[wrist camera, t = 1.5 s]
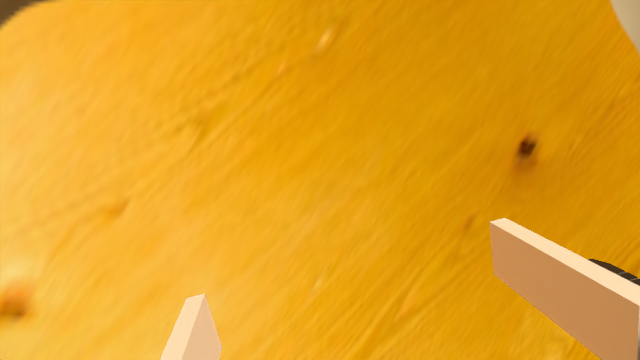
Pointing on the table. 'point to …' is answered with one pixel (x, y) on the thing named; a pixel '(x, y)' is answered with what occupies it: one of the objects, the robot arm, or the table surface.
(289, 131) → the table surface
